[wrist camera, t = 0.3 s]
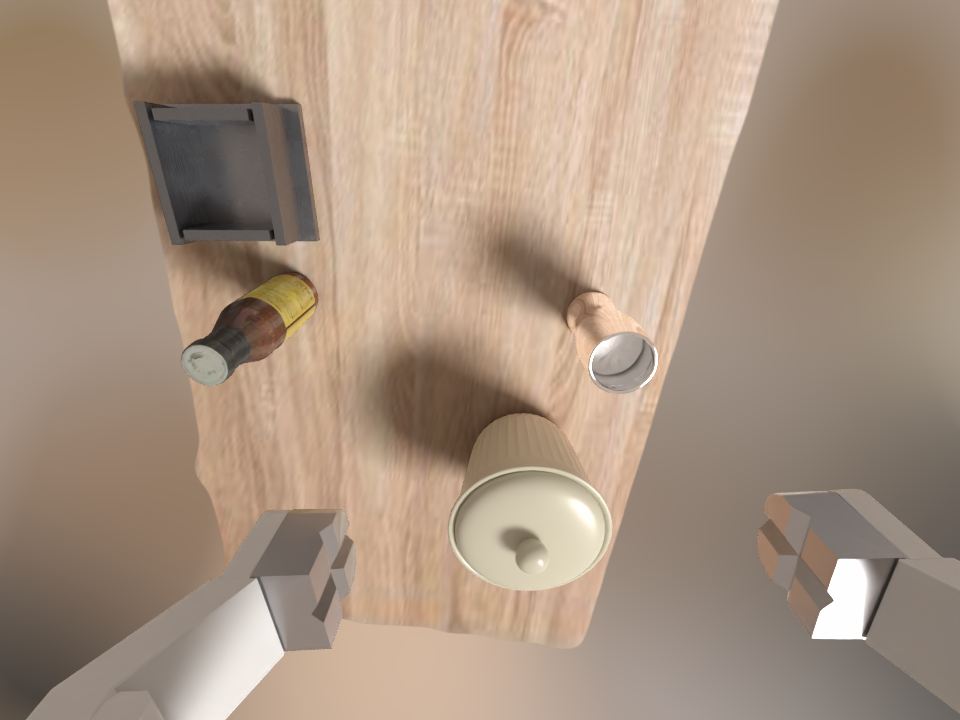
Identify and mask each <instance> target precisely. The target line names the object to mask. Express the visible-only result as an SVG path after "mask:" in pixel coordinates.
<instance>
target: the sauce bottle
mask: <svg viewBox="0 0 960 720" xmlns="http://www.w3.org/2000/svg"><path fill="white" fill-rule="evenodd" d="M317 303H318V294H317V291H316V289H315V288H314V286H313V284H312V283H311V282H310V281H309V280H308V279H307V278H306V277H304V276H302V275H299V274H296V273H285V274H282V275H278V276H275V277H273V278H271V279H270V280H268V281H267V282H265V283H263V284H262V285H260V286H258V287H257V288H255V289H253V290H251V291H250V292H249V293H247V294H245V295H244V296H242V297H241V298H239V299H237V300H236V301H234V302H233V303H231V304H229V305H228V306H227V307H226V308H224V310H223V311H222V312H221V314H220V316H219V318H218V320H217V322H216V324H215V326H214V328H213V330H212V332H211V333H210V334H209V335H208V336H206V337H205V338H203V339H199V340H196V341H195V342H193V343H192V344H191V345H189V346H188V347H187V348H186V349H185V350H184V351H183V353H182V356H181V364H182V367H183V369H184V370H185V372H186V373H187V374H188V376H189V377H191V378H192V379H193V380H195V381H196V382H198V383H200V384H203V385H208V386H214V385H218V384H221V383H223V382H224V381H225V380H226V379H228V378H229V377H230V376H231V375H232V374H233V372H234V370H235V368H237V367H238V366H239V365H241V364H243V363H248V362H255V361H260V360H262V359H264V358H266V357H267V356H268V355H270V354H271V353H272V352H273V351H274V350H275V349H277V348H278V347H279V346H281V345H282V344H283V343H284V342H285V341H286V340H287V339H288V338H289V337H290V336H291V335H292V334H293V333H294V332H295V331H296V330H297V329H298V328H299V327H300V326H302V325H303V324H304V323H305V322H306V321H307V320H308V319H309V318H310V317H311V316H312V314H313V313H314V311H315V309H316V306H317Z"/></svg>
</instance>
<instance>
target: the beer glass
mask: <svg viewBox="0 0 960 720" xmlns="http://www.w3.org/2000/svg"><path fill="white" fill-rule="evenodd" d="M566 319H567V324H568V326H569V328H570V330H571V331H572V332H573V333H574V334H575V335H576V348H577V353H578V356H579V358H580V361H581V363H582V365H583V367H584V368H585V370H586V371H587V373H588V374H589V376H590V377H591V379H592V381H593V382H594V384H595V385H596V386H598V387H599V388H600V389H602V390H604V391H606V392H609V393H613V394H625V393H630V392H633V391H635V390H637V389H639V388H641V387H642V386H644V385H645V384H646V383H647V382H648V381H649V380H650V379H651V378H652V376H653V374H654V373H655V370H656V368H657V363H658V355H657V350H656V348H655V346H654V344H653V343H652V342H651V341H650V339H649V337H648V336H647V334H646V333H645V331H644V330H643V329H642V328H641V326H640V325H639V324H638V323H637V322H636V321H635V320H634V319H632V318H631V317H630V316H628V315H626V314H625V313H623V312H621V311H619V310H616V309H615V306H614V304H613V302H612V301H611V299H610V298H609V297H607V296H606V295H604V294H602V293H599V292H587V293H584V294H581V295H579V296H578V297H576V298H575V299H574V300H573V301H572V302H571V304H570V305H569V307H568V310H567V315H566Z"/></svg>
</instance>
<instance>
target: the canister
mask: <svg viewBox="0 0 960 720" xmlns="http://www.w3.org/2000/svg"><path fill="white" fill-rule="evenodd" d="M611 535H612V518H611V514H610V511H609V508H608V506H607V503H606V502H605V500H604V498H603V497H602V495H601V494H600V493H599V492H598V491H597V490H596V488H594V487H593V486H592V485H591V483H590V481H589V479H588V477H587V475H586V473H585V470H584V468H583V466H582V464H581V462H580V460H579V458H578V457H577V455H576V453H575V451H574V449H573V447H572V446H571V444H570V442H569V440H568V439H567V437H566V435H565V434H564V433H563V432H562V431H561V430H560V428H559V427H558V426H556V425H554V423H553V422H551V421H549V420H547V419H546V418H544V417H540V416H539V415H533V414H531V413H529V414H526V413H515V414H511V415H510V414H508V415H507V416H503V417H501V418H499V419H497V420H494V422H492V423H490V424H489V425H488V426H487V427H486V428H485V429H483V431H482V433H481V434H480V435H479V436H478V438H477V441H476V442H475V444H474V446H473V450H472V453H471V456H470V460H469V463H468V466H467V470H466V474H465V478H464V482H463V486H462V490H461V494H460V496H459V498H458V499H457V501H456V502H455V504H454V506H453V508H452V510H451V513H450V517H449V522H448V537H449V542H450V545H451V548H452V550H453V552H454V554H455V555H456V557H457V559H458V560H459V561H460V562H461V564H462V565H463V566H464V567H465V568H466V569H467V570H469V571H470V572H471V573H472V574H474V575H475V576H477V577H478V578H480V579H482V580H484V581H486V582H488V583H490V584H493V585H496V586H499V587H503V588H507V589H513V590H523V591H534V590H544V589H550V588H554V587H558V586H561V585H564V584H567V583H569V582H571V581H573V580H575V579H577V578H579V577H581V576H582V575H584V574H585V573H587V572H588V571H589V570H590V569H591V568H593V567H594V566H595V565H596V564H597V563H598V561H599V560H600V559H601V558H602V556H603V555H604V553H605V551H606V550H607V547H608V545H609V543H610V539H611Z"/></svg>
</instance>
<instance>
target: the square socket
mask: <svg viewBox="0 0 960 720" xmlns="http://www.w3.org/2000/svg"><path fill="white" fill-rule="evenodd" d="M134 105H135V109H136V113H137V116H138V120H139V124H140V127H141V131H142V135H143V138H144V142H145V146H146V150H147V153H148V157H149V161H150V164H151V168H152V172H153V175H154V179H155V183H156V186H157V190H158V194H159V198H160V201H161V205H162V209H163V212H164V216H165V220H166V223H167V227H168V231H169V234H170V238H171V242H172V245H182V244H186V243H190V242H194V241H198V240H203V241H276V245H288V244H291V243H293V242H296V241H319V240H320V238H319V231H318V223H317V216H316V209H315V202H314V195H313V187H312V180H311V173H310V166H309V159H308V151H307V144H306V137H305V130H304V123H303V115H302V108H301V105H299V104H267V103H263V102H251V104H165V106H164V105H159V104H153V103H148V102H134Z"/></svg>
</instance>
